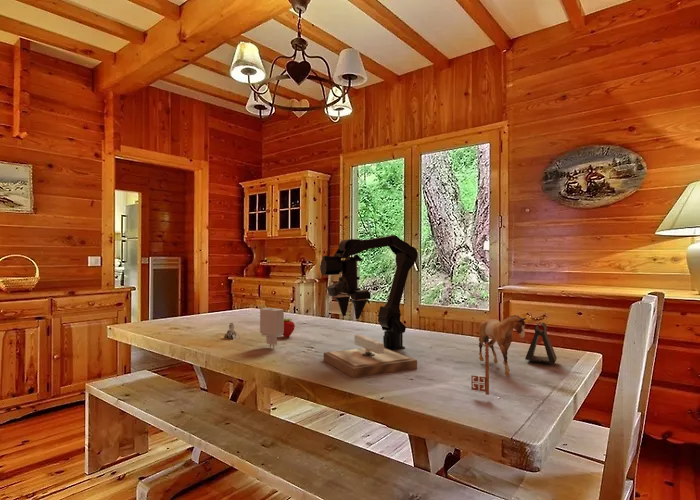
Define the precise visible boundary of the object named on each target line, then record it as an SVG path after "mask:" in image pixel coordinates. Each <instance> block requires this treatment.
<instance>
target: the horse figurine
mask: <svg viewBox="0 0 700 500" xmlns="http://www.w3.org/2000/svg"><path fill="white" fill-rule="evenodd" d="M526 319H528V318H527V317H524V318H523V317H521V316H520V315H516V314H514V315H513V314H512V315H510V316H506V318H504V319H502V320H501V321H500V320H499V319H496V318H487V319H484V320H482V321H481V322H480V323H479V328H478V329H479V330H478V331H479V332H478V333H479V337H480V336H481V335H483V334H490V335H492V336H493V337H494V338H495V343H497V346H498V347H499V350H500V352H501V354H502V357H503V362H502V363H503V365H504V374H505V375H506V376H510V366H509V363H508V350H509V348H510V346H511V343H512V342H513V340H514V333H513V330H515V331H516V333H518V335H519V338H520V339H523V338H524V337H525V336H526V332H525V327H526V322H525V320H526ZM489 340H490V341H489ZM481 342H482V343H483V344H486V342H488V345H491V344H493V342H494V340H493V338H492V337H491V336H488V335H484V336H482V337H481ZM483 346H484V345H482V344H481V343H480V342H479V343H478V347H479V353H478V355H479V358H478V359H479V361H481V362H485V359H484V356H483V353H482V350H483ZM488 348H489V349H490V350H491V351H492V355H493V357H494V358H493V362H494V364H498V357H497V353H496V350H495V348H494V345H492V346H488Z"/></svg>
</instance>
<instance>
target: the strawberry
mask: <svg viewBox="0 0 700 500" xmlns="http://www.w3.org/2000/svg"><path fill="white" fill-rule="evenodd" d="M292 320H293V319H291V318H284V333H283V335H282V336H283V337H284V338H290V337H291V335H292V334H293V332H294V330H295V327H296V325H295V323H294V322H293V321H292Z"/></svg>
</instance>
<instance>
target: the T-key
mask: <svg viewBox="0 0 700 500" xmlns="http://www.w3.org/2000/svg"><path fill="white" fill-rule="evenodd" d="M353 338H354V345H356V346H358V347H360V348H365V354H372V352H375V353H377V354H383V353H384V343H383V342H381V341H378V340H376V339H373V338H370V337H368V336H365V335H362V334H355V335H354V337H353Z"/></svg>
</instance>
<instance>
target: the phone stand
mask: <svg viewBox="0 0 700 500" xmlns="http://www.w3.org/2000/svg"><path fill="white" fill-rule="evenodd" d="M539 325H540V326H541V327H542V328H543V330H541V329H540V328H539ZM547 328H548V327H547V323H545V322H543V321H542V323H541V322H537V324H536V325H535V326H534V335H533V337H532V340H531V342H530V344H529V345H530V346H529V348H528V350H527V353H526V355H525V357H524V360H526V361H534V362H543V363H551V364H555V363H556V362H557V359H558V356H557V355H556V352H555V349H554V347H553V345H552V342H551V339H550V337H549V334H548V331H547ZM539 337H541V338H542V341H543V346H544V349H545V352H546V355H547V356H541V355H535V351H536V348H537V346H538V341H539Z"/></svg>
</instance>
